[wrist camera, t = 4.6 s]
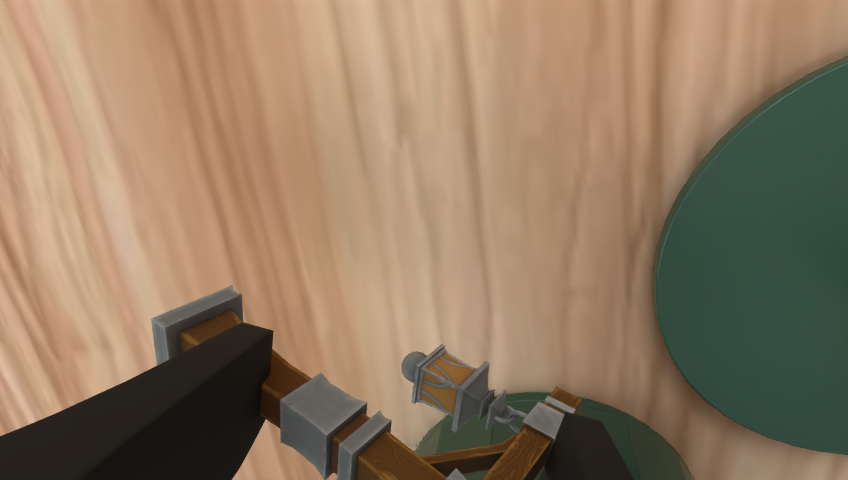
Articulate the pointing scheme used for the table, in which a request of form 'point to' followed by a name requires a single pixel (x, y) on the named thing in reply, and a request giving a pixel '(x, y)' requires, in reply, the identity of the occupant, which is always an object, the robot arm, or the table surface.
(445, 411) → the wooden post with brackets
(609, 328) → the table surface
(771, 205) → the lid
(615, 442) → the tin
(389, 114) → the table surface
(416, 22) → the table surface
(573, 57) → the table surface
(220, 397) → the robot arm
